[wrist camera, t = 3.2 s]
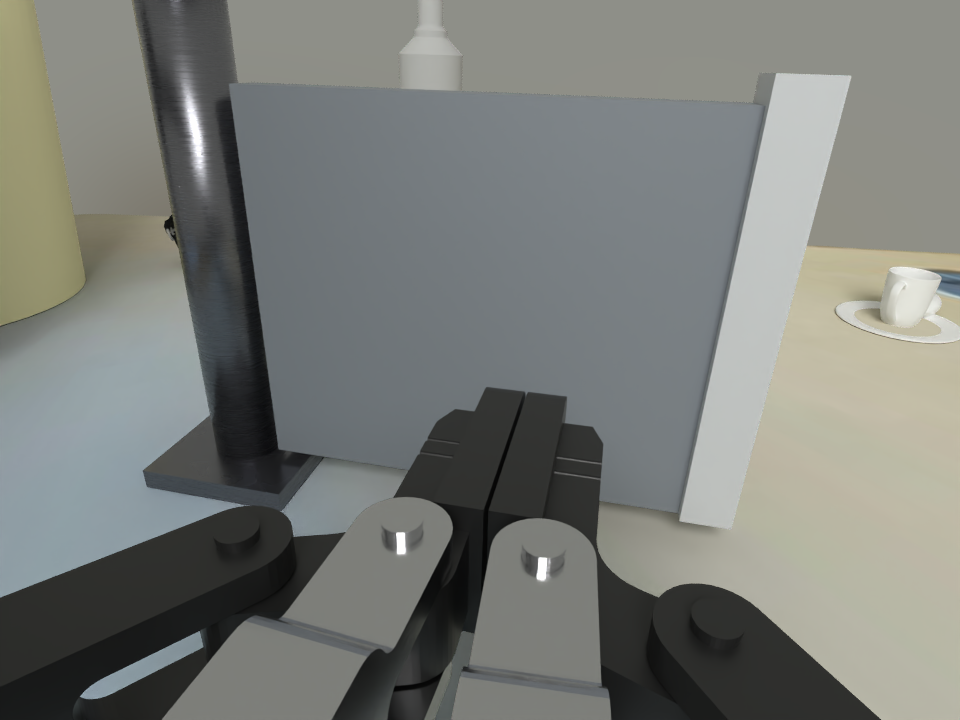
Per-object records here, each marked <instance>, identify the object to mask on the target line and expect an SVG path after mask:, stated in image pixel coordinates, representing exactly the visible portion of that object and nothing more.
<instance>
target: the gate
mask: <svg viewBox="0 0 960 720" xmlns="http://www.w3.org/2000/svg"><path fill="white" fill-rule="evenodd" d="M850 80H851V76H839V75H812V74H810V75H809V74H781V73H780V74H779V73H759V76H758V81H757V86H756V91H755V96H754V101H753V103H743V102H742V103H741V102H718V101H693V100H668V99H644V98H620V97H596V96H571V95H546V94H522V93H497V92H473V91H472V92H470V91H448V90H423V89H398V88H373V87H349V86H325V85H299V84H274V83H232V84H229V89H230V97H231V104H232V111H233V119H234V126H235V133H236V141H237V148H238V155H239V163H240V170H241V177H242V184H243V192H244V199H245V206H246V214H247V221H248V228H249V236H250V243H251V250H252V258H253V265H254V272H255V280H256V287H257V294H258V302H259V309H260V316H261V324H262V331H263V338H264V346H265V353H266V360H267V368H268V375H269V382H270V390H271V397H272V404H273V411H274V419H275V426H276V433H277V441H278V448H279V450H286V451H292V452H298V453H304V454H311V455H317V456H323V457H329V458H336V459H342V460H348V461H354V462H361V463H367V464H373V465H379V466H386V467H392V468H398V469H404V470H409V469H410V468H411V466H412V464H413V462H414V461H415V459H416V457H417V455H418V454H420V450H421V448H422V446H423V445H424V443H425V441H427V439H428V436H429V434H430V432H431V431H432V429H433V427H434V425H435V423H436V422H437V421H438V420H439V419H441V418H442V417H444V416H445V415H447V414H448V413H450V412H451V411H453V410H454V409H460V410H468V411H475V409H476V407H477V405H478V403H479V401H480V399H481V396H482V394H483V392H484V390H485V388H486V387H492V388H501V389H509V390H517V391H525V393H526V395H527V393H528V392H534V393H542V394H550V395H558V396H567V409H566V419H565V423H568V424H575V425H583V426H591V427H593V428H594V429H595V431H596V433H597V434H598V436H599V437H600V439H601V441H602V442H603V457H602V471H601V484H600V497H599V501H604V502H611V503H617V504H623V505H629V506H636V507H642V508H648V509H654V510H660V511H667V512H673V513H678V514H679V521H681V522H687V523H693V524H699V525H705V526H711V527H718V528H724V529H730V530H731V528H732V525H733V521H734V517H735V513H736V509H737V506H738V502H739V498H740V494H741V491H742V487H743V483H744V479H745V476H746V472H747V468H748V464H749V460H750V457H751V453H752V449H753V445H754V442H755V438H756V434H757V430H758V427H759V423H760V419H761V415H762V411H763V408H764V404H765V400H766V396H767V393H768V389H769V385H770V381H771V378H772V374H773V370H774V366H775V362H776V359H777V355H778V351H779V347H780V344H781V340H782V336H783V332H784V328H785V325H786V321H787V317H788V313H789V310H790V306H791V302H792V298H793V295H794V291H795V287H796V283H797V279H798V276H799V272H800V268H801V264H802V261H803V257H804V253H805V249H806V246H807V242H808V238H809V234H810V230H811V227H812V222H813V219H814V215H815V211H816V208H817V204H818V200H819V196H820V193H821V189H822V185H823V181H824V178H825V174H826V170H827V166H828V163H829V158H830V155H831V151H832V148H833V143H834V140H835V136H836V132H837V129H838V125H839V121H840V117H841V114H842V110H843V106H844V102H845V99H846V94H847V90H848V87H849V83H850Z"/></svg>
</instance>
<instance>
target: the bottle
mask: <svg viewBox="0 0 960 720" xmlns="http://www.w3.org/2000/svg"><path fill="white" fill-rule="evenodd" d="M398 56H399V79H400V89H423V90H448V91H462V62H463V61H462V60H463V56H462V55H461V53H460V52H459V51H458V50H457V49H456V48H455V46H454V45H453V44H452V43H451V42H450V41H449V40H448V38H447V31H446V30H445V29H444V28H443V0H418V27H417V29H415V30H414V37H413V38H412V40H411V41H410V42H409V43H408V44H407V45H406V46H405V47H404V48H403V49H402V50H401V51H400V53H399V54H398Z"/></svg>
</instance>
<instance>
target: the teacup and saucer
mask: <svg viewBox="0 0 960 720" xmlns="http://www.w3.org/2000/svg"><path fill="white" fill-rule="evenodd" d="M940 281H941V276H939V275H938V274H935V273H933V272H930V271H926V270H922V269H917V268H910V267H892V268H890V269H889V271H888V274H887V278H886V282H885V286H884V290H883V294H882V299H881V302H878V301H850V302H845V303H842V304H840V305H838V306H837V307H836V309H835V311H836V313H837V315H838V316H839V317H840V318H841V319H843V320H844V321H846V322H847V323H849V324H851V325H853V326H855V327H858V328H860V329H863V330H865V331H868V332H871V333H875V334H878V335H882V336H885V337H890V338H894V339H899V340H905V341H911V342H919V343H950V342H955V341H958V340H960V327H959V326H958V325H956V324H955V323H953V322H952V321H950V320H948V319H946V318H944V317H941V316H939V315H936V314H935V313H936V312H937V311H938V310H939V309H940V308H941V305H942V302H941V299H940V297H939V296H938V295H936V294H935V292H936V290H937V288H938V286H939V283H940ZM867 308H879V309H880V315H881V320H882V321H883V322H885V323H887V324H889V325H892V326H896V327H902V328H912V327H915V326H916V325H917V324H918V323H919V322H920V321H921V319H922V318H924V319H927V320H929V321H931V322H933V323H935V324H936V325H937V326H939V327H940V329H941V333H940V334H938V335H935V336H929V337H916V336H906V335H900V334H895V333H890V332H886V331H883V330H879V329H876V328H873V327H871V326H868V325H866V324H864V323H862V322H861V321H859V320H858V319H857V318H856V317H855V316H854V313H855V312H856V311H857V310H860V309H867Z"/></svg>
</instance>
